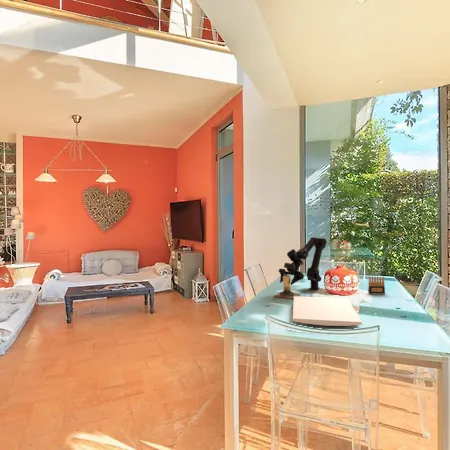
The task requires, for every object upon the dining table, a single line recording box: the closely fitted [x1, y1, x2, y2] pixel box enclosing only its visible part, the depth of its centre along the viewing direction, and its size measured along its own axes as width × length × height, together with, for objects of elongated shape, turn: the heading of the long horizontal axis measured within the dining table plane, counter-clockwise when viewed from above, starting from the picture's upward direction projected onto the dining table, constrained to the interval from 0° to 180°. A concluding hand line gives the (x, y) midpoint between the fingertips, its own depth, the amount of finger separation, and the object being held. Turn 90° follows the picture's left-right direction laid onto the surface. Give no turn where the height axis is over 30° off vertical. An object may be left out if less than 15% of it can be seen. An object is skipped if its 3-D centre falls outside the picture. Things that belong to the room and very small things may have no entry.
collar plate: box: [273, 290, 301, 301], centre depth 224 cm, size 14×14×2 cm
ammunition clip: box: [367, 275, 386, 294], centre depth 227 cm, size 11×2×12 cm, turn 82°
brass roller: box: [282, 274, 292, 294], centre depth 224 cm, size 5×5×13 cm
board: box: [292, 295, 363, 327], centre depth 180 cm, size 45×32×5 cm
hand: (285, 283), depth 223 cm, fingers open, 9 cm apart
